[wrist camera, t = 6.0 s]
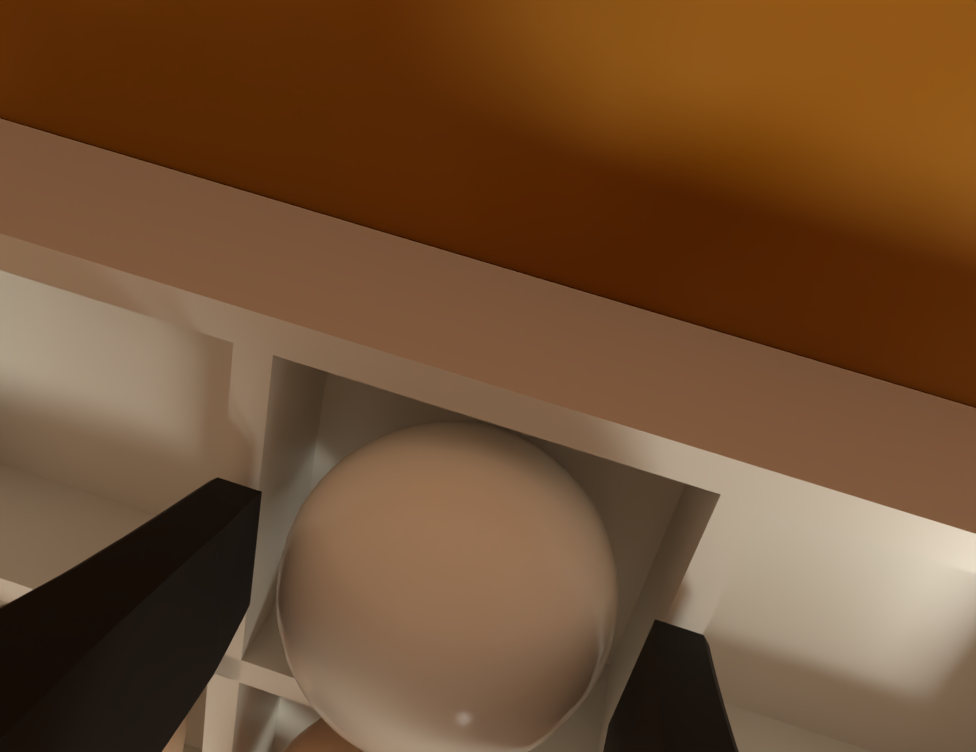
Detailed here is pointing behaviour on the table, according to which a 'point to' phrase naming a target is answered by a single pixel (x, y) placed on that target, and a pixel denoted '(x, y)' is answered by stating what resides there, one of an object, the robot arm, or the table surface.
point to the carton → (487, 401)
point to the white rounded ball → (447, 593)
